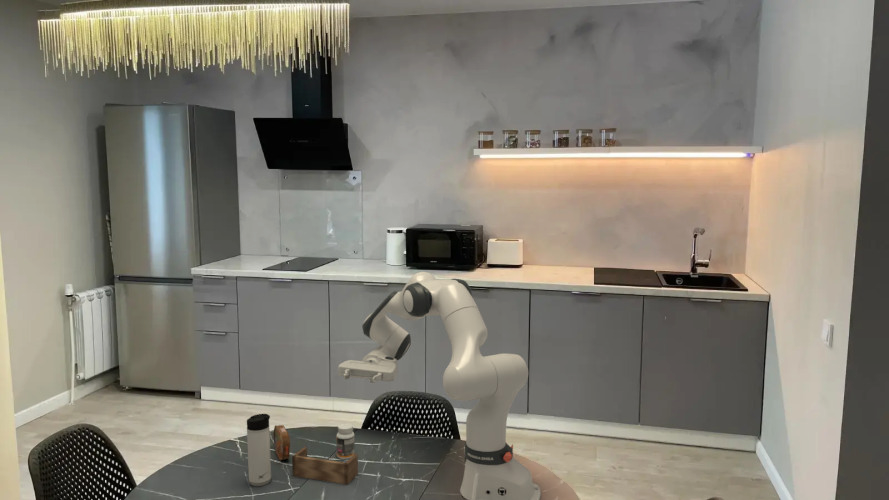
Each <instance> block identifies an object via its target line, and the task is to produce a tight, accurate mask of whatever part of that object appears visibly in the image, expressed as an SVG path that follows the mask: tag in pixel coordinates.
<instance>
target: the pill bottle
mask: <svg viewBox="0 0 889 500" xmlns="http://www.w3.org/2000/svg"><path fill="white" fill-rule="evenodd" d="M337 431H338V432H336V437H335V438H336V456H337V458H338V459H341V460H349V459H350V458H351V457H352V456H353V455H354V454H356V453H355V452H356V451H355V446H356V445H355V444H356V443H355V433H354V427H353V424H352V423H347V422H346V423H340V424H338V425H337Z"/></svg>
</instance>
